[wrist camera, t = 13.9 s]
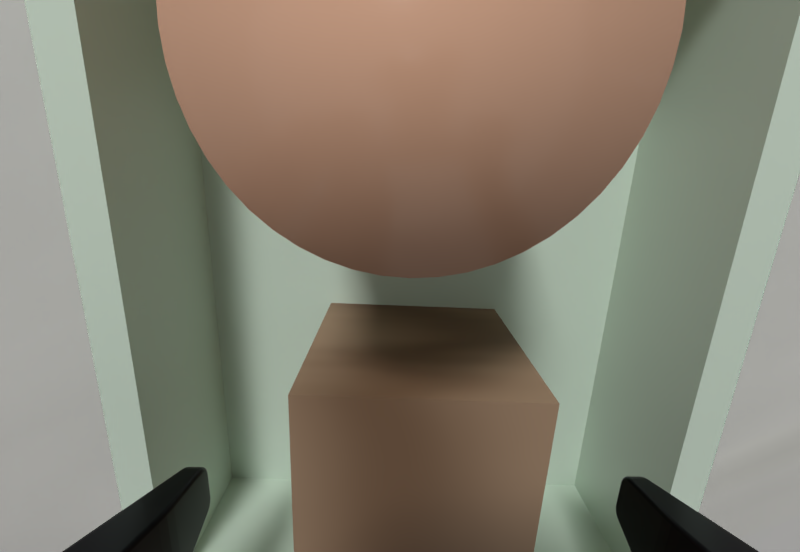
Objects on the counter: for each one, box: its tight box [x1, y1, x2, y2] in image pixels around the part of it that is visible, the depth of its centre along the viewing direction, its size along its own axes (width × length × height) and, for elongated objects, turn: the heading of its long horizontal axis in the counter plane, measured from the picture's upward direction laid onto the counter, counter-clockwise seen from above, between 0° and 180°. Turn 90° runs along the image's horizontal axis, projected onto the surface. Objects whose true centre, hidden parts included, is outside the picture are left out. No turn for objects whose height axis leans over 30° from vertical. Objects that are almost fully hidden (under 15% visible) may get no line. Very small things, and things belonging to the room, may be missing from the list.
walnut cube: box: [288, 303, 559, 552], centre depth 10 cm, size 5×5×5 cm
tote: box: [24, 0, 800, 552], centre depth 10 cm, size 18×14×4 cm
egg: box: [156, 0, 686, 278], centre depth 7 cm, size 5×5×7 cm
